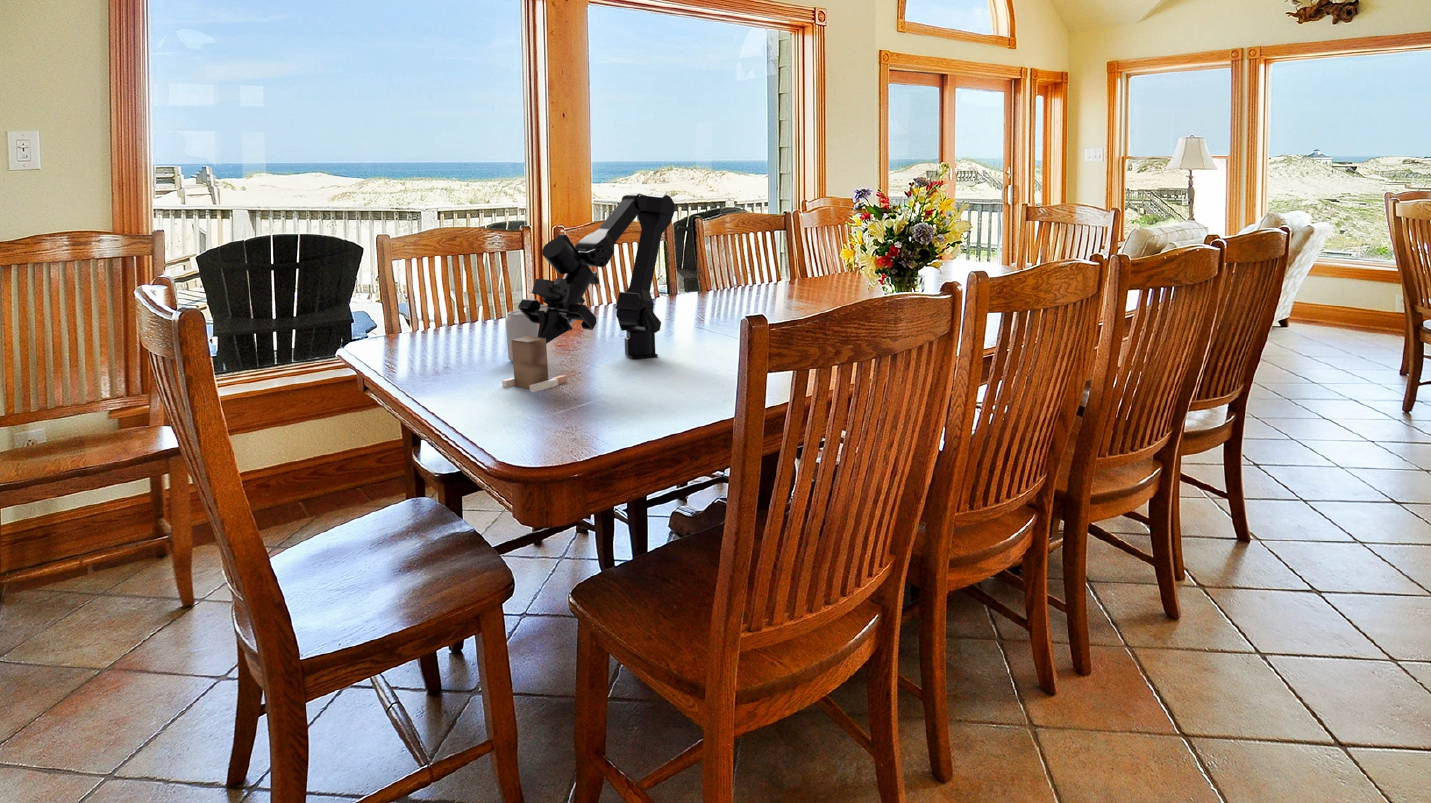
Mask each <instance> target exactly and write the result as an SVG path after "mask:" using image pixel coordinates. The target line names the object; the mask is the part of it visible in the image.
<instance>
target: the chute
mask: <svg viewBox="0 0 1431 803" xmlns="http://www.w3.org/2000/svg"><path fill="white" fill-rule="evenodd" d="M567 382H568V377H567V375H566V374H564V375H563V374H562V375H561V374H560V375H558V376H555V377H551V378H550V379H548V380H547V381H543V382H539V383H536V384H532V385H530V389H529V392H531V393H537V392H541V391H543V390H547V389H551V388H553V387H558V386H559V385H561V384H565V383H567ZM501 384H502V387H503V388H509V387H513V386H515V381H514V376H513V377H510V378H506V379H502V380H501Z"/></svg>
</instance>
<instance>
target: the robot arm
mask: <svg viewBox="0 0 1431 803" xmlns="http://www.w3.org/2000/svg"><path fill="white" fill-rule="evenodd" d="M675 209H676V204H675V202H674V200H673V198H672V197H671V196H670V195H669V194H668V195H667V194H642V193H635V192H634V193H631V192H630V193H629V192H628V193H626V194H624V195H623V196H622V197H621V201H620V202H619V204H618V205H617V206H616V207H615V208H614V210H612V212H611V213H610V214H609V215H608V216H607V218H606V219H605V220H604V221H603V222H602V224H601V225H600V226H599V228H597V229H596V230H595V231H593V232H590V233H589V234H587V235H585V236H583V237H582V239H580V240H579V241H578V242H577V243H576V245H574V244H573V243H572V242H571V239H570V237H568V235H567V234H562V233H561V234H558V235H557V237H556V238H553V239H551V240H550V241H549V242H547V243H546V244H545V245H544V246H543V247H542V251H541V255H542V256H543V258H544V259H545V260H546V261H547V262H548V263H549V265H550V266H551V267H552V268H553V269H554V271H555V272H556V273H557V274H559V275H563V277H562V278H558V277H557V278H556V279H555V280H553V279H552V280H550V279H545V278H544V279H543V278H535V279H534V282H533V287H532V291H531V294H533V295H538V296H539V297H542V300H541V301H542V302H543V303H544V304H541V302H540V301H539V300H538V299H532V298H525V299H524V298H523V299H521V300H520V302H519V304H518V306H517V308H518V310H521V311H522V312H523V314H524V315H525V316H526V317H527V318H528V319H529V320H530V321H531V322H533V323H538V329H539V331H538V337H540V338H546V345H547V344H548V343H550V342H552V341H553V340H555V339H557V337H560V336H562V335H563V334H565V333H567V332H569V331H572V330H573V323H575V322H576V321H581V322H582V323H581V327H582V329H583V330H586V331H587V330H589V331H593V330H594V329H595V327H596V325H597V316H596V315H595V314H594V313H593V312H592V310H591V309H590V308H589V307H588V306H587V305H586V304H584V303H585V301H586V300H585V298H584V294H586V291H587V290H588V288H589V286H590V285H599V284H600V279H599V277H598V272H597V271H593V270H592V269H591V267H594V268H605V267H606V266H607V265H608V264H609V262H610V260H611V258H612V256H613V255H614V253H615V244H616V243H617V241H618V240H619V239H620V238H621V237H622V235H624V233H625V232H626V230H627V229H628V228H629V226H630V225H631V224H632V223H633V221H634V220H635V219H636V218H637V219H638V223H639V225H640V229H641V231H640V234H639V240H638V245H637V250H636V256H635V259H634V264H633V268H632V269H633V270H632V273H631V274H632V275H631V278H630V283H629V287H628V288H627V290H626V291H621V292H619V293H618V294H617V295H618V296H617V304H616V306H615V310H616V314H615V317H616V318H617V320H618V324H619V328H620V331H625V332H626V336H624V355H626V356H627V357H629V358H630V359H632V360H633V359H635V360H636V359H637V360H638V359H647V358H657V357H658V356H659V354H658V353H656V333H658V332H660V330H661V327H662V321H661V320H660V319H659V317H658V316H657V315H656V314H655V312H654V305H655V303H654V300H653V297H652V293H651V288H652V283H653V279H654V278H653V277H654V273H655V269H656V264H657V258H658V253H659V251H660V250H659V249H660V244H661V240H662V236H663V233H664V232H665V231H666V230H667V229H668V227H669V226H670V225H671V223H672V220H673V217H674V213H675V211H676V210H675Z"/></svg>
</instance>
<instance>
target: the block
mask: <svg viewBox="0 0 1431 803" xmlns="http://www.w3.org/2000/svg"><path fill="white" fill-rule="evenodd" d="M547 348H548V347H547V344H546V338H540V337H533V336H527V337H522V338H518V339H513V340H512V352H513V375H514V376H513V377H514V381H515V385H514V387H518V388H522V389H529V390H530V385H532V384H536V383H539V382H543V381H547V380H549V368H548V366H549V365H548V353H547V351H548V350H547Z"/></svg>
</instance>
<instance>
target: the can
mask: <svg viewBox="0 0 1431 803" xmlns="http://www.w3.org/2000/svg"><path fill="white" fill-rule="evenodd" d="M507 315H508V316H506V318H505V329H506V344H507V357H508V358H507V359H508V360H509V361H510V362H512V363H513V352H512V340H513V339H518V338H522V337H527V336H533V337H538V331H539V324H538V323H533V322H531V321H530V320H529V319H528V318H527V317H526V316H525V315H524V314H523V312H522V311H521V310H520V309H518V310H511V311H509V312H508V313H507Z"/></svg>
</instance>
